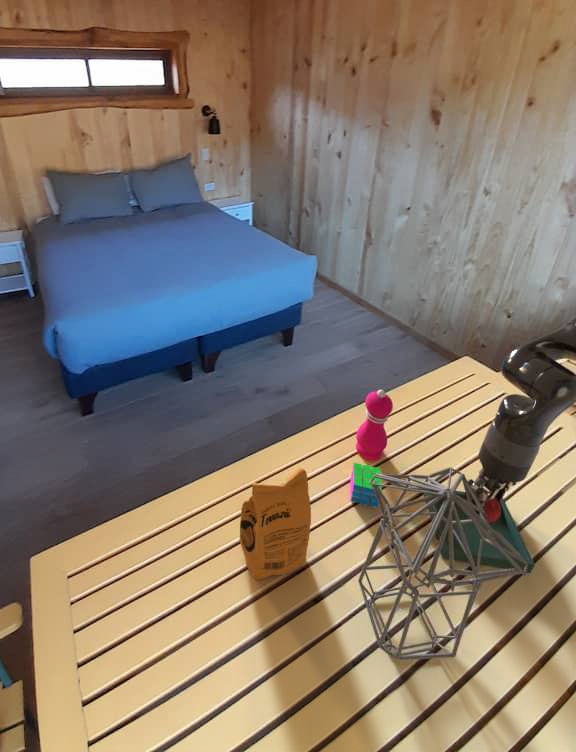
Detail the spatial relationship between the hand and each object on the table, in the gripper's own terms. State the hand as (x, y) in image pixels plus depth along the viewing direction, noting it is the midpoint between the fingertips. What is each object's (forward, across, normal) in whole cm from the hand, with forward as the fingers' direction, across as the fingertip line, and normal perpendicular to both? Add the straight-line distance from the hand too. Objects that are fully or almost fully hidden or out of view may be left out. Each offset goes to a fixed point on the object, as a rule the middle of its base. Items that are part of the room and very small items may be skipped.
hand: (483, 505), depth 80 cm
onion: (+4, 0, 0) cm, 4 cm away
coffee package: (+8, -40, +14) cm, 43 cm away
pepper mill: (+8, -5, +24) cm, 26 cm away
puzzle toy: (+8, -14, +16) cm, 23 cm away
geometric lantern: (+8, -26, -5) cm, 27 cm away
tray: (+8, 0, 0) cm, 8 cm away
